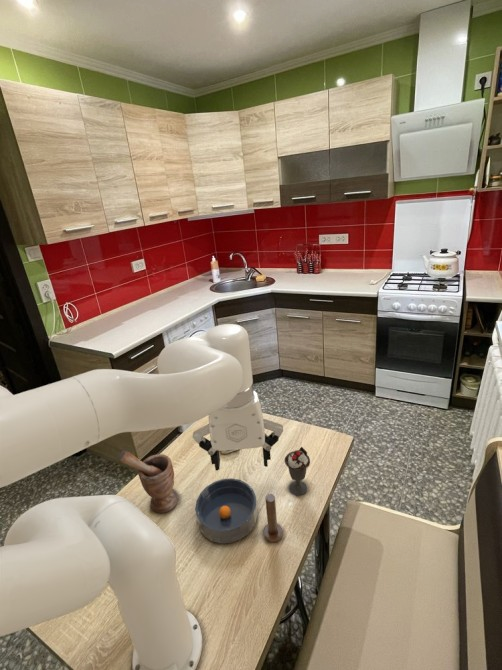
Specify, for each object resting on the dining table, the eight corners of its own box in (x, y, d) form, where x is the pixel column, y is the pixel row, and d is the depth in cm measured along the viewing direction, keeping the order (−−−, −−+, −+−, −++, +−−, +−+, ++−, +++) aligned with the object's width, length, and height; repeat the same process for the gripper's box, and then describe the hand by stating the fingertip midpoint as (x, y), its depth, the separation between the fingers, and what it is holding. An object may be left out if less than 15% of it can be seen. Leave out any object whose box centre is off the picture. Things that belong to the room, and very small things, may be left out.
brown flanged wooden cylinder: (283, 542, 81) (280, 505, 76) (264, 543, 81) (260, 506, 76) (281, 524, 85) (278, 489, 80) (263, 526, 85) (260, 490, 80)
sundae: (290, 501, 91) (288, 457, 85) (283, 481, 97) (280, 439, 91) (314, 495, 92) (313, 452, 86) (305, 476, 98) (304, 434, 92)
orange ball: (229, 502, 88) (229, 508, 90) (218, 504, 87) (217, 510, 89) (232, 513, 85) (231, 520, 87) (219, 516, 85) (219, 522, 86)
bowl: (258, 542, 81) (257, 528, 79) (194, 547, 82) (191, 533, 80) (256, 489, 95) (255, 476, 93) (201, 494, 95) (199, 480, 93)
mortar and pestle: (145, 529, 87) (127, 470, 79) (132, 507, 93) (114, 450, 85) (185, 502, 93) (172, 445, 85) (170, 483, 100) (157, 428, 91)
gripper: (182, 408, 59) (196, 481, 66) (282, 400, 59) (286, 474, 66) (188, 384, 66) (201, 453, 73) (278, 377, 66) (282, 446, 73)
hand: (241, 463), depth 69 cm, fingers open, 9 cm apart
